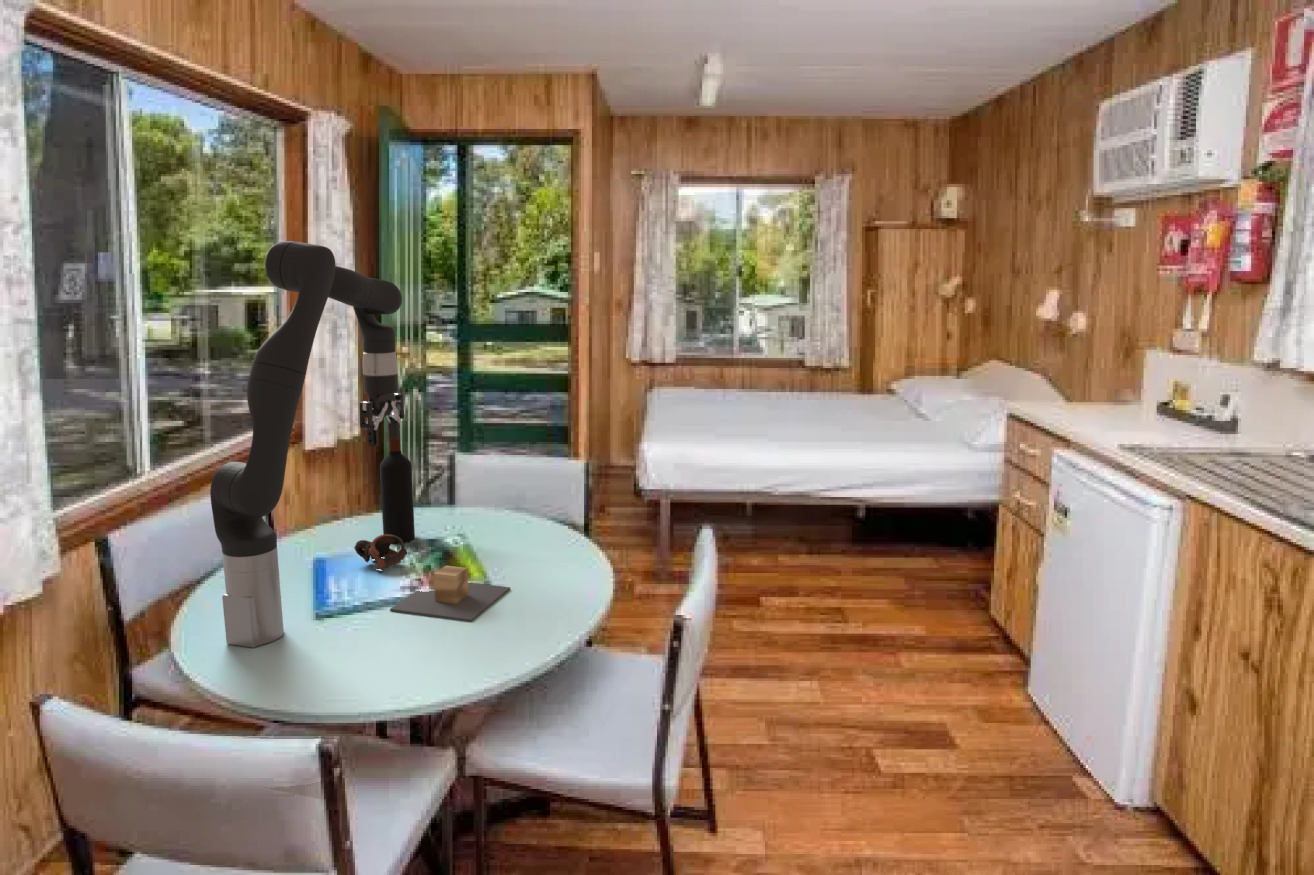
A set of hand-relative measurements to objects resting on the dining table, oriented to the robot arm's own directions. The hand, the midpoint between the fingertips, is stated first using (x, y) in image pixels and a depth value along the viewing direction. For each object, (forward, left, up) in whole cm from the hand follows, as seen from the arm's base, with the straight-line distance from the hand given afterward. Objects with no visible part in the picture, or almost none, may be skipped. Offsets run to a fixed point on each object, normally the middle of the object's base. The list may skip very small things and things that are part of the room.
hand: (384, 442), depth 205 cm
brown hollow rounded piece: (-4, 0, -28) cm, 29 cm away
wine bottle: (+14, +6, -28) cm, 32 cm away
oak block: (-18, -26, -28) cm, 42 cm away
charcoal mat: (-18, -26, -28) cm, 42 cm away
